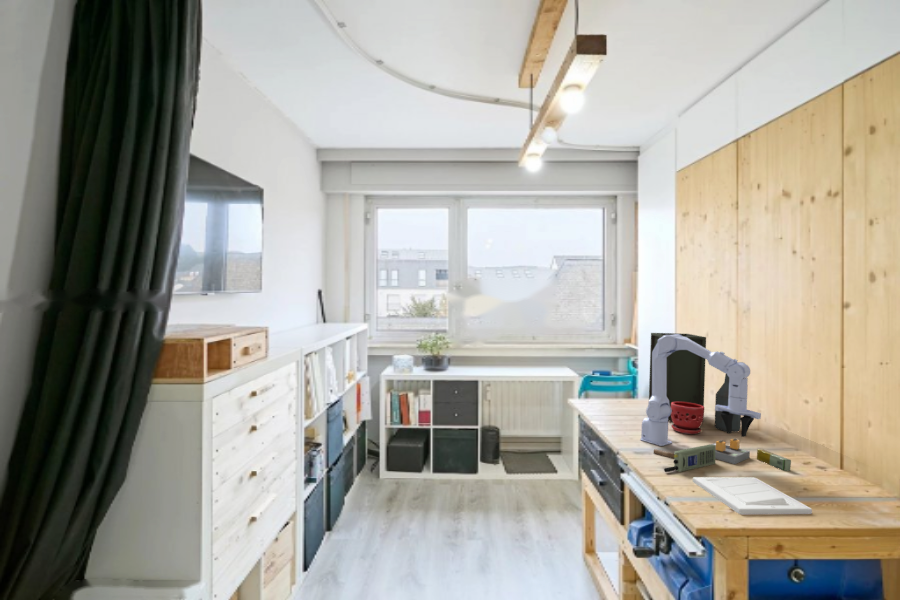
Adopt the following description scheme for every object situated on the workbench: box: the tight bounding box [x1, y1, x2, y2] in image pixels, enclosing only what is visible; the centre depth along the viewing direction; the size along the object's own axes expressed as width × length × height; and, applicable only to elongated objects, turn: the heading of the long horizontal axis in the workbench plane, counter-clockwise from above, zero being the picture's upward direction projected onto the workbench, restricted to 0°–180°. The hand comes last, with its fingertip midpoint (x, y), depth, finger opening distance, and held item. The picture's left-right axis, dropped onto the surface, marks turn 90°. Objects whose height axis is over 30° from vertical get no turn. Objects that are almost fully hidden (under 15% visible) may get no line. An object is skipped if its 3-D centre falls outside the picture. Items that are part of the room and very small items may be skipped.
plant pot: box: [671, 402, 705, 435], centre depth 212 cm, size 13×13×12 cm
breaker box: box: [711, 442, 751, 465], centre depth 180 cm, size 12×12×3 cm
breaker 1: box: [715, 440, 727, 452], centre depth 178 cm, size 2×2×3 cm
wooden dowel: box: [653, 448, 674, 459], centre depth 178 cm, size 10×2×2 cm
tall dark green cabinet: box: [648, 332, 707, 423], centre depth 237 cm, size 18×18×40 cm
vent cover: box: [692, 476, 813, 515], centre depth 144 cm, size 23×3×21 cm
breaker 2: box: [729, 437, 741, 450], centre depth 180 cm, size 2×2×3 cm
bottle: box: [714, 373, 742, 433], centre depth 217 cm, size 10×10×30 cm
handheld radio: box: [663, 443, 716, 473], centre depth 167 cm, size 7×3×25 cm
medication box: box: [756, 448, 792, 472], centre depth 172 cm, size 12×3×4 cm, turn 11°
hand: (736, 434), depth 173 cm, fingers open, 4 cm apart
